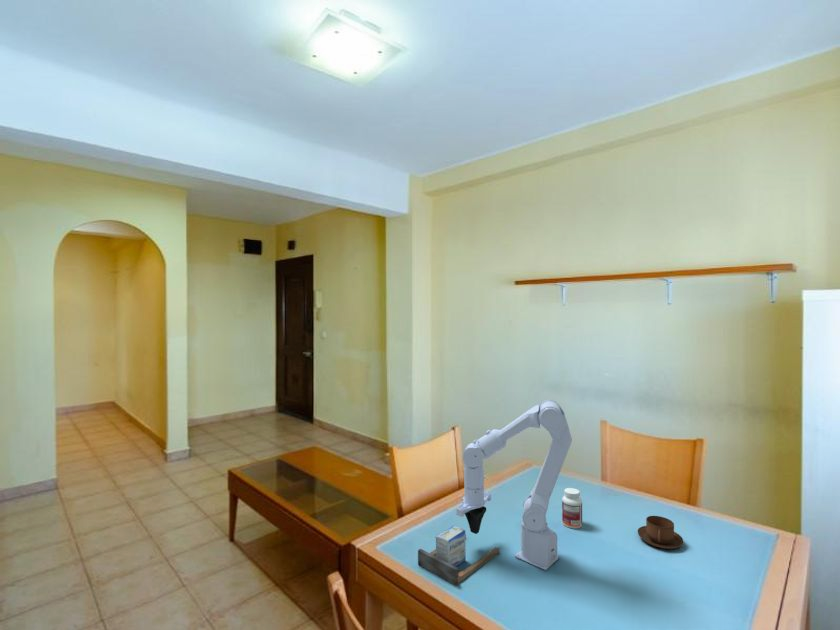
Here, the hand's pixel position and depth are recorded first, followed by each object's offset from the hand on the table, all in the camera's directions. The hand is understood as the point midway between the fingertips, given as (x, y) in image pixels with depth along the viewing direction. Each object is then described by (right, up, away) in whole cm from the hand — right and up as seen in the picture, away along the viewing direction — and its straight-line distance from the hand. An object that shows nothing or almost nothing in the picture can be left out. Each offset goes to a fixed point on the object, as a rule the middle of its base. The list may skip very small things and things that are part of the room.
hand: (474, 532), depth 126 cm
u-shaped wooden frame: (-5, -5, -5) cm, 9 cm away
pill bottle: (+33, -5, +14) cm, 36 cm away
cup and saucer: (+56, -5, +4) cm, 57 cm away
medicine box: (-7, -5, -7) cm, 12 cm away
